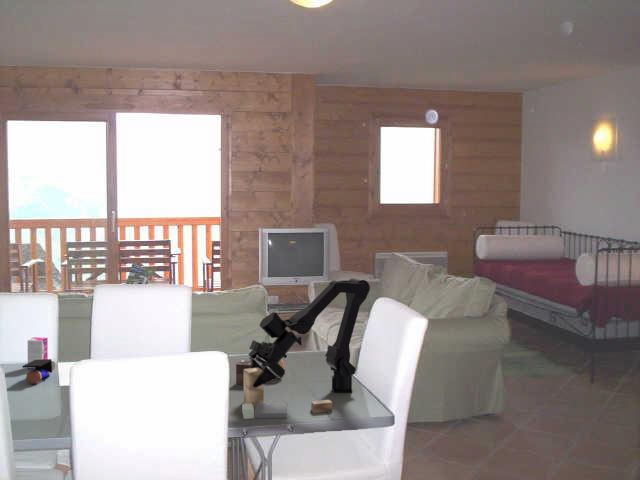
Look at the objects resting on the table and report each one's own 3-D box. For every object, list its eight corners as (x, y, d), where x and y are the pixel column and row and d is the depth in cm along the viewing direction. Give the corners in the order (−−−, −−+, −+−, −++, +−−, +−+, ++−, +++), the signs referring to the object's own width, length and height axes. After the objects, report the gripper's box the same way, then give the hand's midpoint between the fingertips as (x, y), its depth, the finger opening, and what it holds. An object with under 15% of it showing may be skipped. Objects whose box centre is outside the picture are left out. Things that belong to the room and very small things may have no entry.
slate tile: (287, 407, 224) (287, 403, 223) (286, 418, 214) (286, 413, 213) (255, 407, 223) (255, 403, 223) (253, 418, 213) (253, 413, 213)
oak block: (257, 400, 232) (257, 367, 231) (263, 404, 227) (263, 370, 226) (243, 402, 229) (243, 369, 228) (249, 406, 225) (249, 372, 224)
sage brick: (242, 413, 219) (242, 403, 219) (251, 412, 219) (251, 403, 219) (244, 419, 213) (244, 409, 213) (254, 418, 214) (253, 409, 213)
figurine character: (37, 378, 262) (21, 385, 247) (37, 357, 262) (21, 363, 247) (55, 378, 262) (40, 385, 247) (56, 357, 262) (41, 363, 247)
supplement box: (42, 369, 268) (41, 340, 267) (27, 369, 268) (26, 340, 267) (48, 365, 274) (47, 337, 273) (33, 365, 274) (32, 336, 273)
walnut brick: (329, 408, 223) (329, 399, 223) (332, 411, 220) (332, 402, 220) (311, 410, 222) (311, 401, 221) (313, 413, 219) (314, 404, 218)
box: (251, 385, 248) (251, 365, 248) (235, 384, 250) (235, 364, 249) (256, 380, 254) (256, 361, 254) (241, 379, 256) (240, 360, 255)
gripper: (254, 326, 236) (223, 361, 232) (276, 336, 220) (243, 375, 216) (275, 346, 241) (245, 382, 236) (298, 358, 224) (266, 397, 220)
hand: (249, 383), depth 227 cm, fingers open, 7 cm apart
